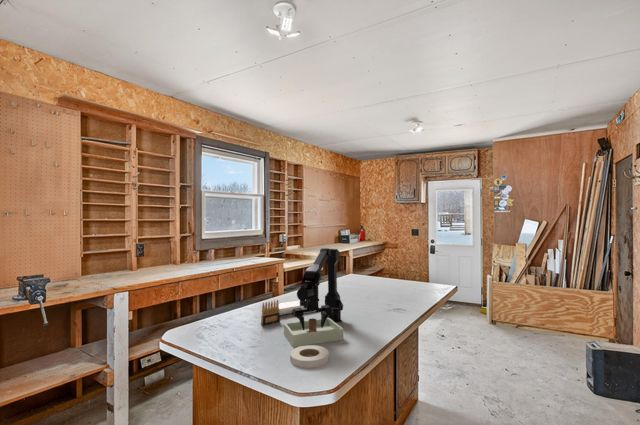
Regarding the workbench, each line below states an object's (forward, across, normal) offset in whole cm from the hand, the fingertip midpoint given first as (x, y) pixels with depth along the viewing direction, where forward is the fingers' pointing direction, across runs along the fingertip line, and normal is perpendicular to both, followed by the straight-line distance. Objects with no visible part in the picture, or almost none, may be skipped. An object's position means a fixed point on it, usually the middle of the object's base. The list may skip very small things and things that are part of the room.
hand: (312, 329), depth 152 cm
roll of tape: (+4, +9, +23) cm, 25 cm away
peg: (+4, 0, 0) cm, 4 cm away
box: (+4, 0, 0) cm, 4 cm away
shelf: (+4, 0, -43) cm, 43 cm away
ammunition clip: (+4, +15, -27) cm, 31 cm away
